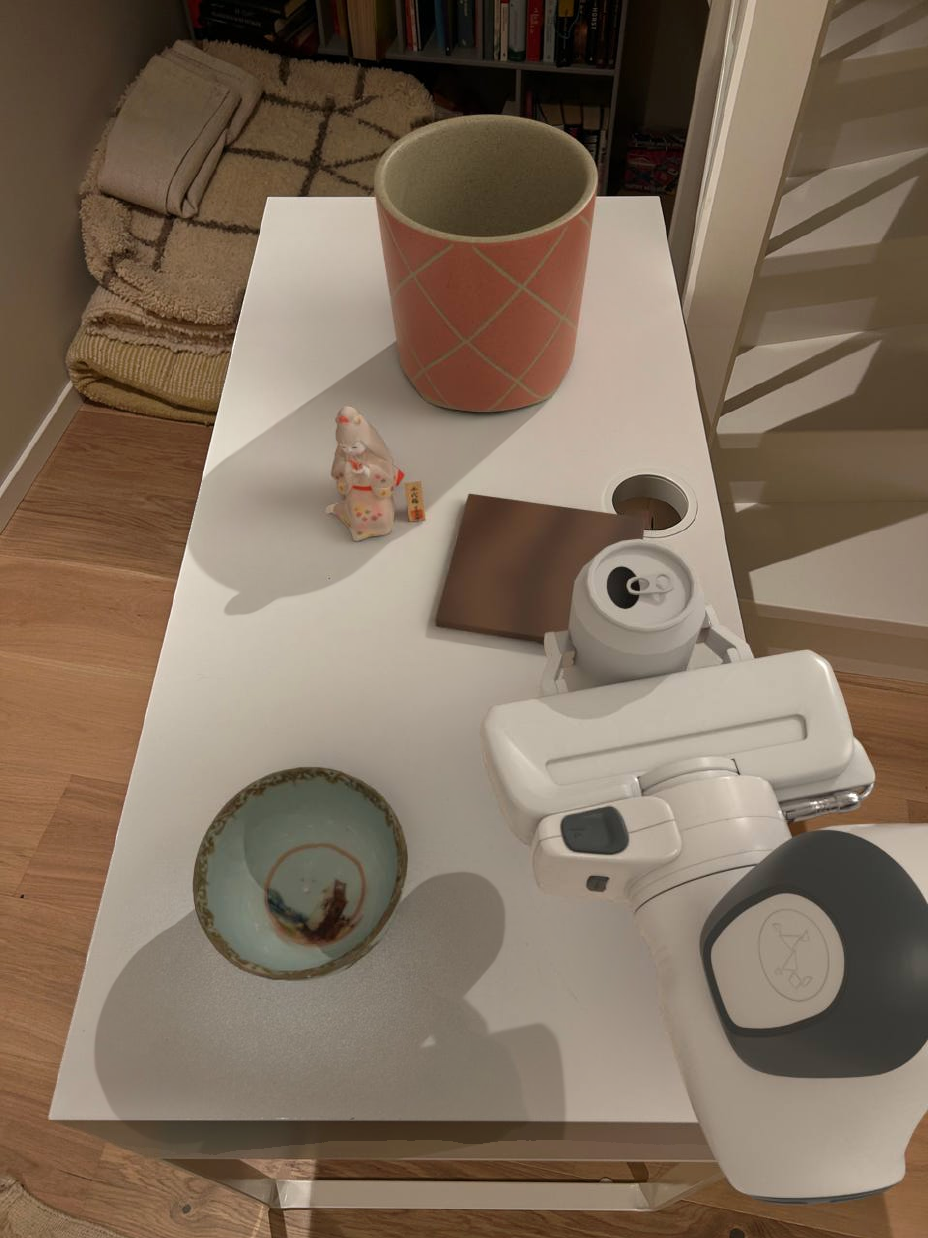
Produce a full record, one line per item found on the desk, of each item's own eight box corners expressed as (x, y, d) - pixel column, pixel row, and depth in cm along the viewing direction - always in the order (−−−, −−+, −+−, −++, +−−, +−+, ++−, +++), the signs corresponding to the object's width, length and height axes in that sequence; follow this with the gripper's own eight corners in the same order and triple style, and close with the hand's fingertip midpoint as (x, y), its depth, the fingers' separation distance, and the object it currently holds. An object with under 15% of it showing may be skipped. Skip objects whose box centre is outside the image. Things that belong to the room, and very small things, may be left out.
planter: (394, 302, 100) (374, 118, 83) (569, 294, 100) (585, 108, 83) (393, 429, 90) (371, 247, 73) (589, 420, 90) (612, 236, 73)
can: (559, 639, 63) (571, 526, 53) (669, 640, 62) (704, 527, 52) (562, 738, 59) (577, 637, 49) (681, 740, 58) (720, 638, 48)
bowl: (398, 1019, 60) (387, 993, 54) (199, 993, 61) (164, 965, 55) (428, 820, 68) (421, 776, 61) (250, 801, 69) (225, 755, 62)
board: (644, 525, 82) (645, 518, 82) (627, 657, 75) (629, 650, 74) (468, 500, 84) (468, 493, 84) (435, 626, 77) (435, 619, 76)
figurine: (322, 544, 82) (294, 434, 73) (331, 494, 86) (306, 384, 78) (423, 541, 81) (408, 429, 72) (427, 491, 86) (413, 380, 77)
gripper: (911, 779, 46) (804, 563, 54) (512, 857, 45) (460, 622, 52) (868, 825, 51) (776, 622, 59) (510, 896, 50) (463, 678, 57)
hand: (625, 623), depth 56 cm, fingers closed on can, 7 cm apart
